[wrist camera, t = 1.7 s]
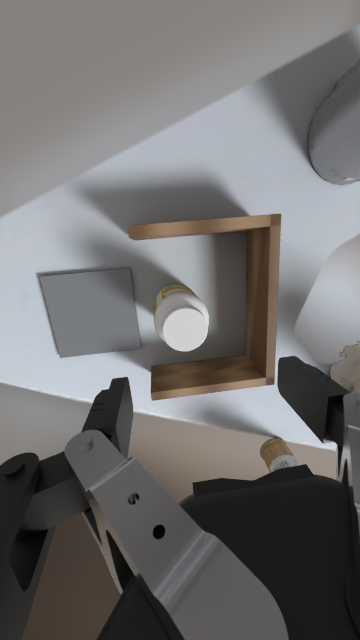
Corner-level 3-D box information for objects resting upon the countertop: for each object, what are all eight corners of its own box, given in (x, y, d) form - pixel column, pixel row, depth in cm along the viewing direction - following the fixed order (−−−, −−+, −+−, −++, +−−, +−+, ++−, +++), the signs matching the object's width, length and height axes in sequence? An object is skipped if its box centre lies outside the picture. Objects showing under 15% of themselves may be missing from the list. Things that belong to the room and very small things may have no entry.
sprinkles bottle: (264, 463, 38) (318, 570, 26) (255, 443, 37) (308, 546, 24) (290, 452, 38) (358, 554, 25) (282, 431, 37) (350, 529, 24)
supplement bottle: (179, 333, 30) (189, 370, 21) (145, 309, 29) (140, 336, 20) (205, 301, 30) (229, 324, 20) (172, 274, 28) (180, 286, 19)
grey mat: (130, 268, 27) (129, 268, 27) (141, 346, 30) (141, 348, 30) (41, 276, 27) (39, 276, 26) (61, 356, 30) (60, 357, 29)
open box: (254, 221, 27) (281, 213, 22) (253, 360, 33) (274, 384, 27) (133, 230, 26) (127, 225, 21) (152, 373, 32) (151, 400, 26)
